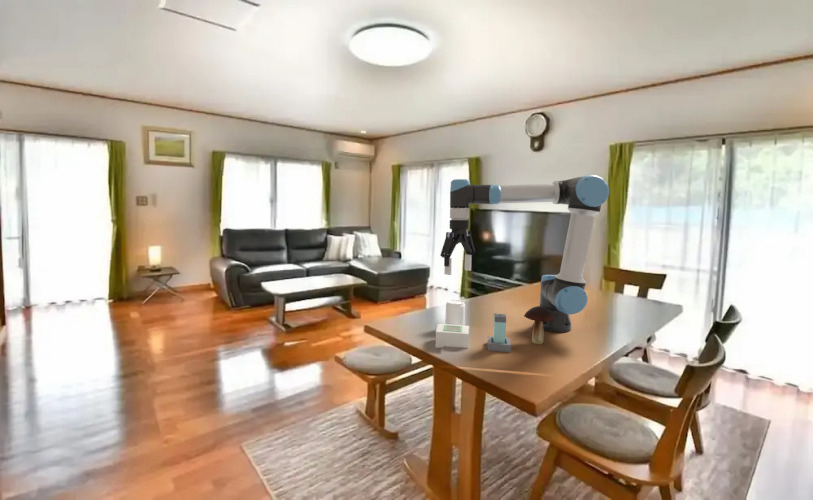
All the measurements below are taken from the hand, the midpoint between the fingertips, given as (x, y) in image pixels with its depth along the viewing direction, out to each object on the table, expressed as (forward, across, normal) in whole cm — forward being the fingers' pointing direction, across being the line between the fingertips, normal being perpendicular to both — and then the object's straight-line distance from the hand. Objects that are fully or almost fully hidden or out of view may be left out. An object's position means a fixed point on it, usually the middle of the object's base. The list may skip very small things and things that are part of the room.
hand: (458, 272), depth 160 cm
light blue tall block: (+25, +2, +21) cm, 32 cm away
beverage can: (+26, -5, -5) cm, 27 cm away
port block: (+26, +10, +5) cm, 28 cm away
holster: (+26, +2, +21) cm, 33 cm away
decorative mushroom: (+26, -12, +29) cm, 41 cm away
